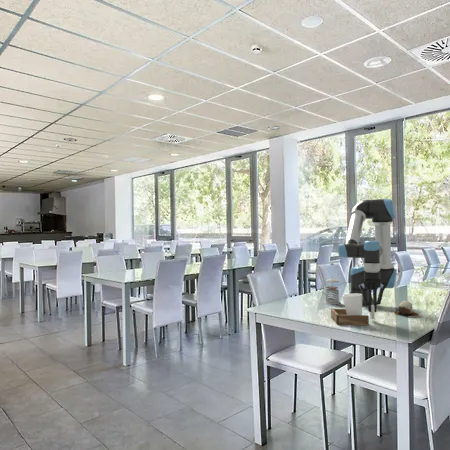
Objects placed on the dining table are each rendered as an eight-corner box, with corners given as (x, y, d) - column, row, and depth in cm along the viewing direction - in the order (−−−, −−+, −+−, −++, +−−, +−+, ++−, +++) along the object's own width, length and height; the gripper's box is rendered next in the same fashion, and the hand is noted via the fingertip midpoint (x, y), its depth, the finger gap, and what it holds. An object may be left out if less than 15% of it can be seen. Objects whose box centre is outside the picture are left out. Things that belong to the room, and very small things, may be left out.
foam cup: (359, 318, 201) (356, 292, 202) (368, 321, 192) (365, 294, 193) (342, 320, 200) (339, 295, 201) (351, 323, 191) (347, 296, 192)
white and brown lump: (396, 309, 221) (409, 297, 217) (410, 323, 216) (424, 311, 212) (388, 311, 213) (402, 299, 208) (403, 327, 207) (417, 314, 203)
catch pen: (331, 317, 206) (331, 308, 206) (360, 317, 204) (360, 309, 204) (336, 324, 190) (336, 315, 190) (368, 325, 188) (368, 315, 188)
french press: (341, 304, 241) (340, 263, 241) (321, 303, 243) (321, 263, 244) (339, 301, 251) (339, 262, 251) (321, 300, 253) (320, 262, 253)
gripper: (360, 272, 193) (360, 319, 193) (387, 272, 192) (388, 320, 192) (356, 270, 201) (357, 316, 201) (383, 270, 199) (383, 317, 199)
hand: (372, 318), depth 196 cm, fingers closed
